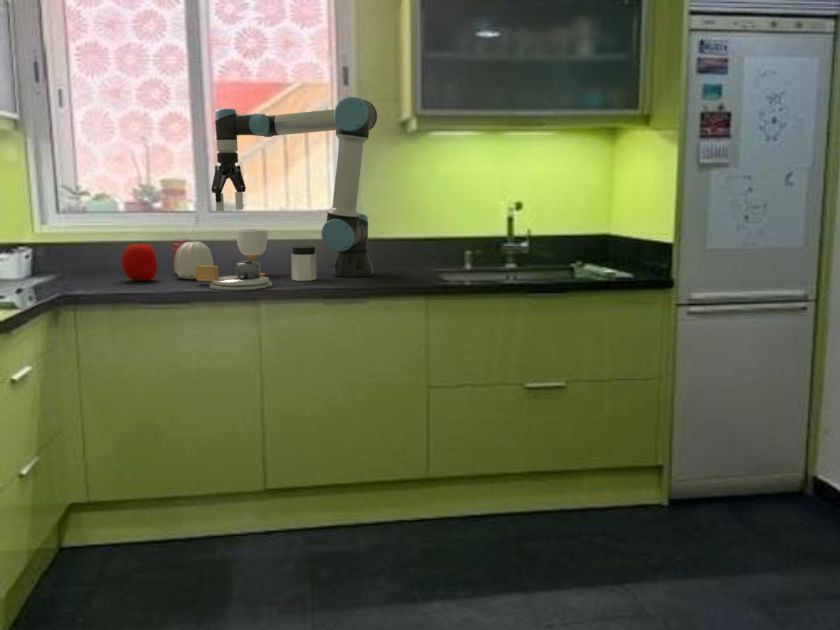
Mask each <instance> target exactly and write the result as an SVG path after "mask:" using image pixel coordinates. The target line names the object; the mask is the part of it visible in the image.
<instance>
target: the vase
mask: <svg viewBox="0 0 840 630" xmlns="http://www.w3.org/2000/svg"><path fill="white" fill-rule="evenodd" d="M199 265H204V266H215V265H214V258H213V254H212V251H211V248H210V247H208V246H207V245H206V244H205V243H203V242H201V241H195V240H194V241H191V242H185V243H184V244H182V245H181V246H180V247H179V248H178V249H177V252H176V255H175V263H174V262H173V269H174V268H175V272H176V273H177V274H176V273H175V272H174V273H175V274H176V275H178V277H179V278H181V279H183V280H184V279H185V280H197V276H196V266H199Z"/></svg>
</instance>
